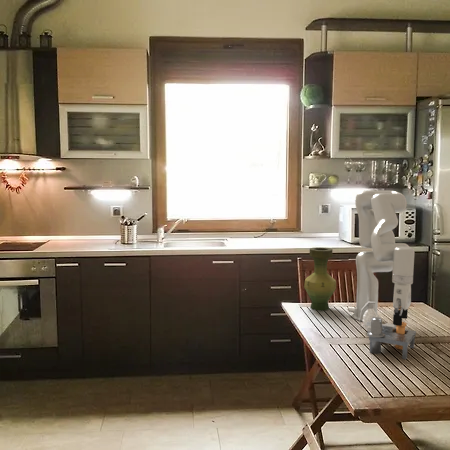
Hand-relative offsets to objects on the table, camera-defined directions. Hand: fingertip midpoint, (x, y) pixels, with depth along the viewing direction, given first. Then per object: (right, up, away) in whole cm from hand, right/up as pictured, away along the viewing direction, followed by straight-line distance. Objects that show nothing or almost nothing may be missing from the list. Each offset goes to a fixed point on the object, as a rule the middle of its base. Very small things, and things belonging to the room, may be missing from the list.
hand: (400, 321), depth 194 cm
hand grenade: (-7, -8, +20) cm, 23 cm away
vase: (-21, -4, +57) cm, 60 cm away
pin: (0, -10, 0) cm, 10 cm away
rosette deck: (-6, -11, -1) cm, 12 cm away
